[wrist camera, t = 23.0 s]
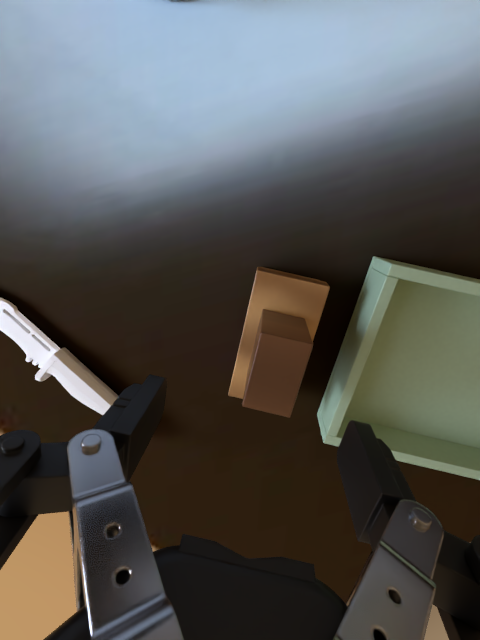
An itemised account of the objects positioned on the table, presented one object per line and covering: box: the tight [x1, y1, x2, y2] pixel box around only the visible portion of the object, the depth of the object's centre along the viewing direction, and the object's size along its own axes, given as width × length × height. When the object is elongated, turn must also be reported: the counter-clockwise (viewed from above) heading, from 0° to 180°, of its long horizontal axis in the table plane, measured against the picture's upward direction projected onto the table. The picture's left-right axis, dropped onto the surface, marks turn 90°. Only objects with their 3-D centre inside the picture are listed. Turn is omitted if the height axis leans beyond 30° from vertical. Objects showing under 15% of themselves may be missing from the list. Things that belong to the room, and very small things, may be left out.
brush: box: [228, 267, 330, 417], centre depth 21 cm, size 10×5×8 cm, turn 168°
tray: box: [317, 256, 480, 480], centre depth 22 cm, size 14×20×4 cm
